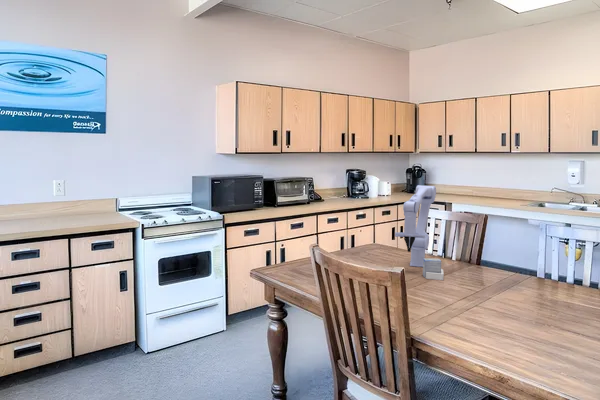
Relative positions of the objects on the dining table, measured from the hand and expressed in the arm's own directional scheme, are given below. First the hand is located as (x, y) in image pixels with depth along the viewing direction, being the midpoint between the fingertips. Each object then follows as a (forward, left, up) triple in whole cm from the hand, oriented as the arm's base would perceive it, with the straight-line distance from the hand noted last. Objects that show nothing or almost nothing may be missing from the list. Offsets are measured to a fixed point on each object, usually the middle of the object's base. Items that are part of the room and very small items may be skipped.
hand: (409, 251), depth 212 cm
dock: (+6, +12, -10) cm, 17 cm away
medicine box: (+6, +11, -11) cm, 17 cm away
